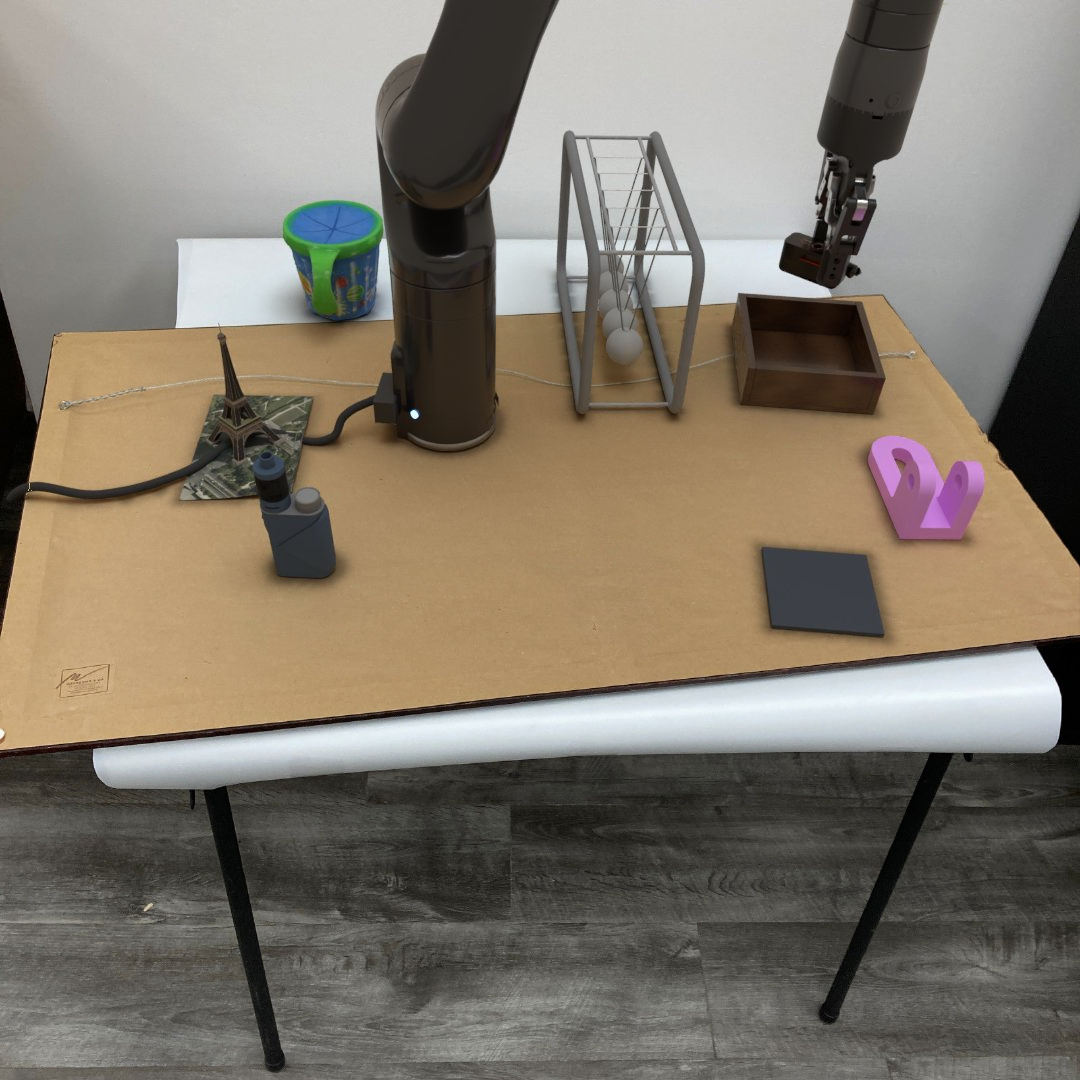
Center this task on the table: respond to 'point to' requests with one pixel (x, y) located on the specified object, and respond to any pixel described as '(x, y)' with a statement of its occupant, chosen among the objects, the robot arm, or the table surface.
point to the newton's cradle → (613, 284)
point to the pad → (821, 592)
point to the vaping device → (294, 522)
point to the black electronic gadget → (808, 258)
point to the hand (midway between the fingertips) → (823, 269)
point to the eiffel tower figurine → (245, 437)
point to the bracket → (924, 490)
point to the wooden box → (805, 354)
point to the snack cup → (336, 255)
